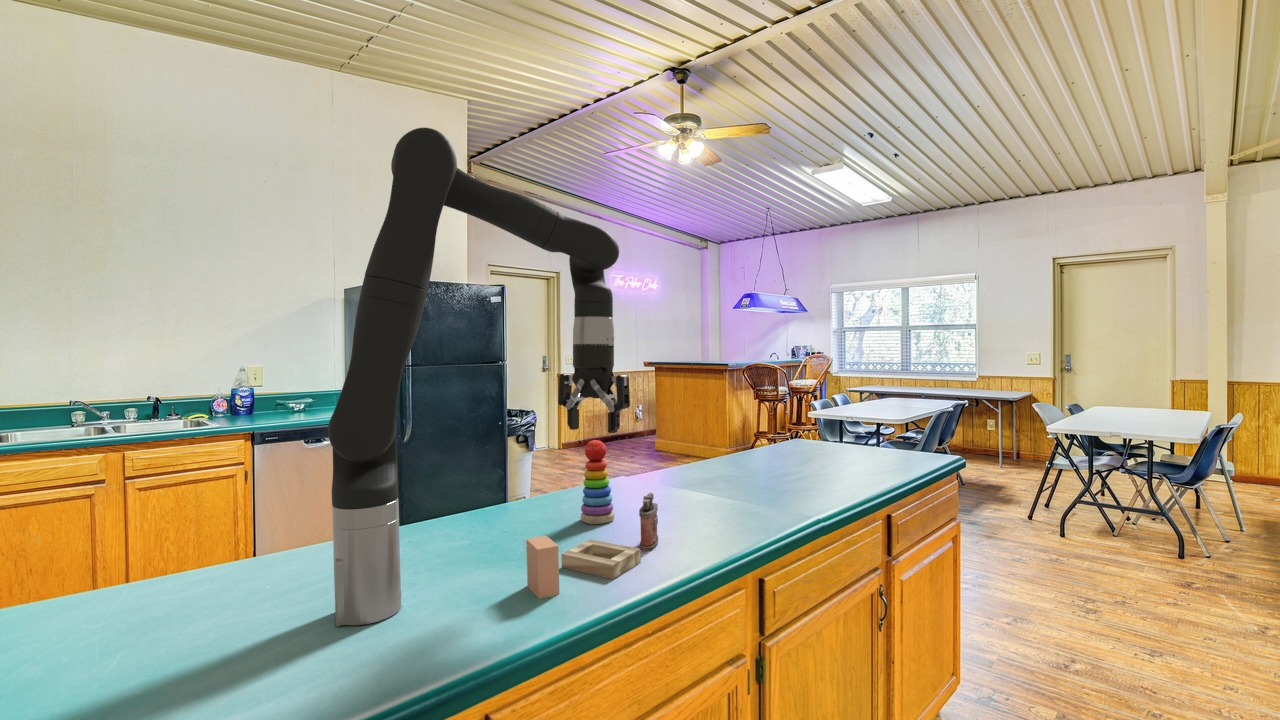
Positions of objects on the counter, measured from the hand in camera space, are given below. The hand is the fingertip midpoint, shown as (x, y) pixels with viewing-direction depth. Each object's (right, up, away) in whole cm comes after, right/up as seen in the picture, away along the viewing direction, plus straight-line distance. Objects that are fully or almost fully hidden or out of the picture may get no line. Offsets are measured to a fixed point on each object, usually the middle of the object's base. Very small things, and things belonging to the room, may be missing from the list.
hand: (593, 431), depth 105 cm
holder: (+1, -25, +1) cm, 25 cm away
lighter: (+11, -25, +12) cm, 29 cm away
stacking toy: (-1, -25, +29) cm, 38 cm away
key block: (-8, -25, -9) cm, 28 cm away
